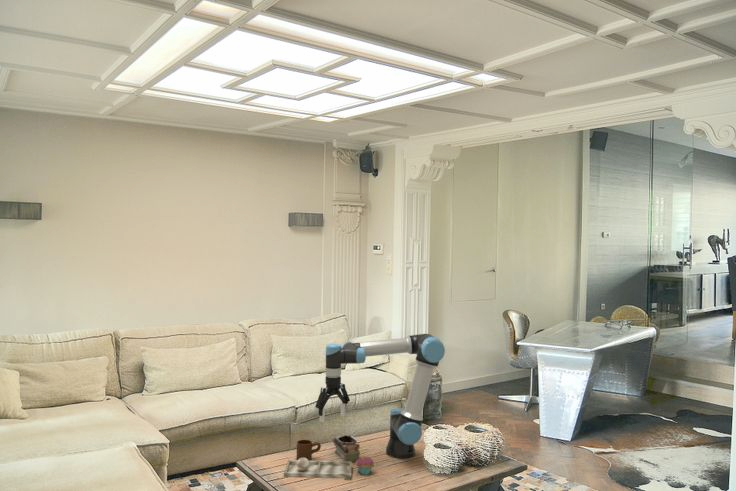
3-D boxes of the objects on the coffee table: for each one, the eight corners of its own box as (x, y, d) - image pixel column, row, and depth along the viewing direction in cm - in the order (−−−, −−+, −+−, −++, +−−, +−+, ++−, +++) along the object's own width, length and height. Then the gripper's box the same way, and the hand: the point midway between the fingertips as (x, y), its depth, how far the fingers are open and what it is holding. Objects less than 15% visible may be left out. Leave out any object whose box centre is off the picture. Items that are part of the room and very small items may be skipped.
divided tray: (351, 466, 298) (351, 461, 298) (350, 479, 283) (351, 474, 282) (287, 465, 298) (287, 460, 298) (283, 478, 282) (283, 473, 282)
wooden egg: (309, 468, 293) (309, 455, 293) (308, 473, 287) (308, 460, 287) (297, 467, 293) (297, 455, 293) (295, 472, 287) (296, 460, 287)
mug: (319, 457, 310) (320, 439, 310) (321, 463, 302) (321, 444, 302) (296, 458, 308) (296, 439, 308) (296, 463, 300) (297, 444, 300)
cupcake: (360, 477, 286) (361, 451, 286) (352, 470, 293) (353, 446, 293) (376, 474, 290) (377, 449, 290) (368, 468, 297) (369, 443, 297)
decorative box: (334, 464, 301) (335, 445, 301) (325, 450, 320) (326, 432, 320) (360, 462, 305) (360, 443, 305) (349, 448, 324) (350, 430, 324)
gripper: (347, 370, 310) (346, 412, 310) (308, 378, 292) (307, 422, 293) (357, 373, 304) (356, 415, 305) (318, 381, 287) (317, 426, 287)
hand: (332, 419), depth 299 cm, fingers open, 13 cm apart
